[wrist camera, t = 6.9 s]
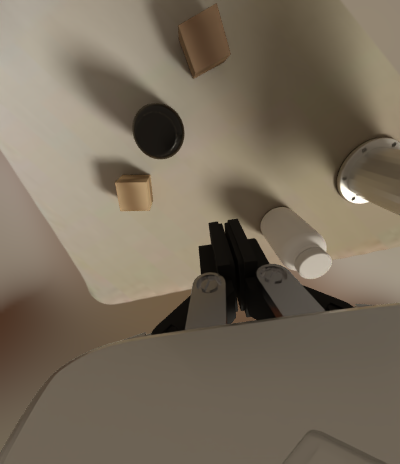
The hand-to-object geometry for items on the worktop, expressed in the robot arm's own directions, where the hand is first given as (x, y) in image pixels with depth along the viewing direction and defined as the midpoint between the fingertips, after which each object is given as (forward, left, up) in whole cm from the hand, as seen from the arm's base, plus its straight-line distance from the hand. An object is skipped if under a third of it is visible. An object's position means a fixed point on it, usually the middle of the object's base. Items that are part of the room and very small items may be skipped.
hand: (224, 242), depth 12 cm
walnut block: (-4, -14, -29) cm, 32 cm away
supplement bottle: (+4, -5, -29) cm, 30 cm away
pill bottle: (-16, +17, -29) cm, 37 cm away
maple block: (+11, +4, -29) cm, 31 cm away
